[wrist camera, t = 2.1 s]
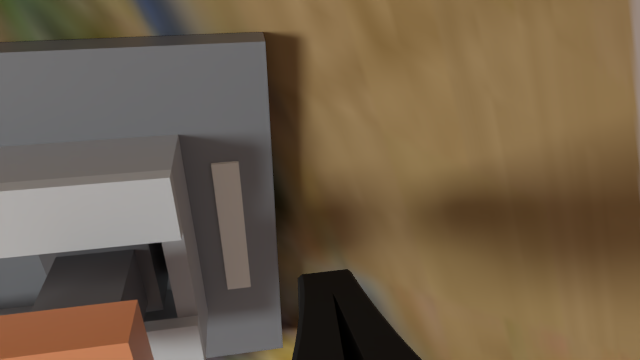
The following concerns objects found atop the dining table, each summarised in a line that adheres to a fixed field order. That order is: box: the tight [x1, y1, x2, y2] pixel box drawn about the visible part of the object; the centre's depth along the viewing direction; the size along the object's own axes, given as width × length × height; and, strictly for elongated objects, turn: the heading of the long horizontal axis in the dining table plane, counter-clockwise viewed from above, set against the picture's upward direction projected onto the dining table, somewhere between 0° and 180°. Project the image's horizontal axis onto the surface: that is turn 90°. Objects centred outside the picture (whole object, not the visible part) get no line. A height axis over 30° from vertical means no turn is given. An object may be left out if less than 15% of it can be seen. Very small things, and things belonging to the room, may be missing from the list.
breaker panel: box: [0, 32, 283, 360], centre depth 14 cm, size 12×16×3 cm
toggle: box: [0, 242, 169, 360], centre depth 12 cm, size 3×3×6 cm
